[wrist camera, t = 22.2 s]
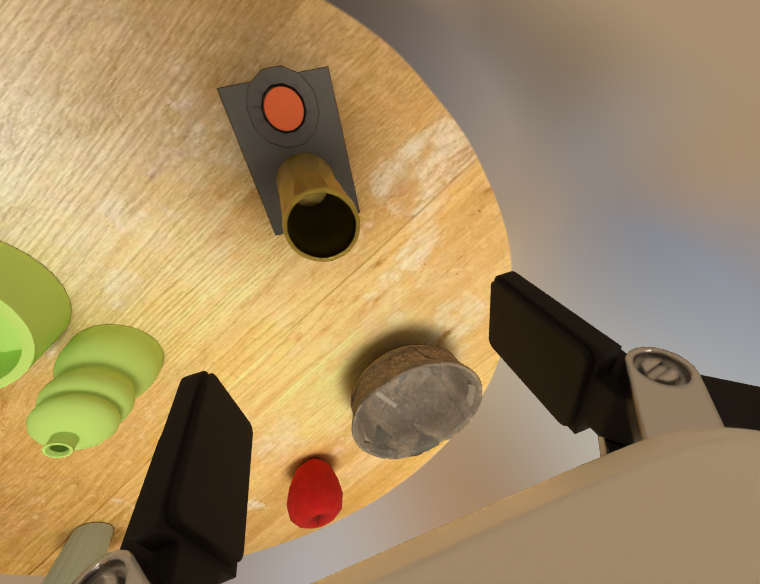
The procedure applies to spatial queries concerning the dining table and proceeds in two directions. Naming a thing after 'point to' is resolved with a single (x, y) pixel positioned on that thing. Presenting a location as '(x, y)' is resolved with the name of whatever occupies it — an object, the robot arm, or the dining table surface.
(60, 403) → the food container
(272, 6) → the dining table surface
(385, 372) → the bowl
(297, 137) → the button base plate
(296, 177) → the vase
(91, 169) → the dining table surface
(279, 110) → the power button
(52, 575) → the cup
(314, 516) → the apple
